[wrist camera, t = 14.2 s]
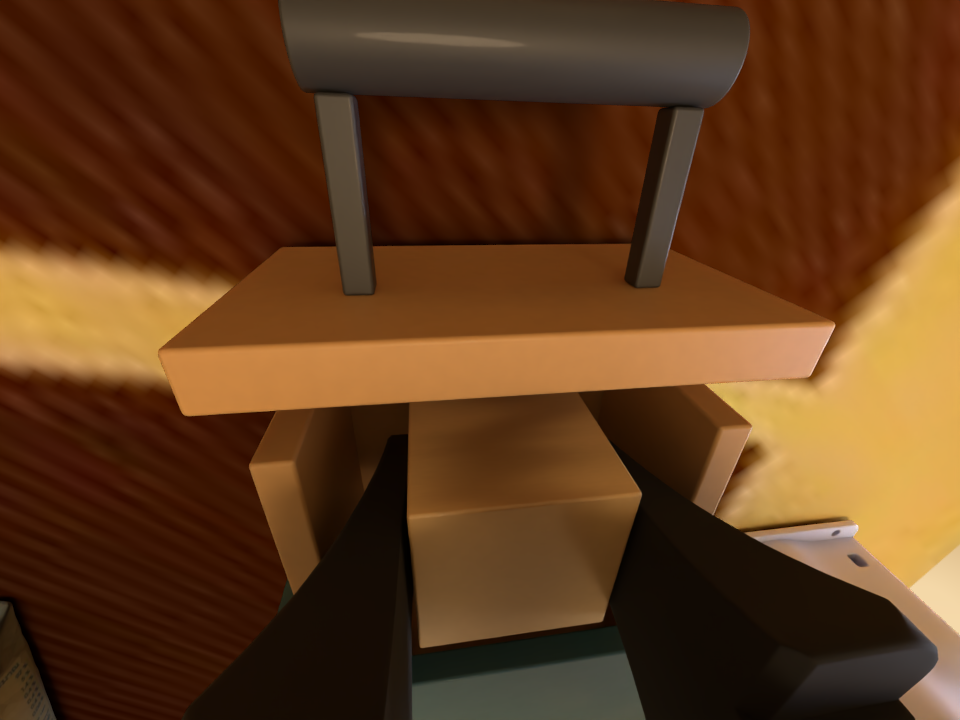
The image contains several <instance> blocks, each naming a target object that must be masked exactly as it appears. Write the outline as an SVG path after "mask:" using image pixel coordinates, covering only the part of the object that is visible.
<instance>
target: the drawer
mask: <svg viewBox="0 0 960 720" xmlns="http://www.w3.org/2000/svg"><path fill="white" fill-rule="evenodd" d="M278 4H279V13H280V21H281V27H282V32H283V37H284V42H285V46H286V50H287V54H288V58H289V61H290V65H291V68H292V71H293V73H294V76H295V78H296V81H297V83H298V85H299V86H300V88H301V89H302V90H303V91H304V92H306V93H315V94H314V102H315V109H316V116H317V122H318V129H319V135H320V142H321V149H322V155H323V162H324V169H325V175H326V182H327V189H328V195H329V202H330V209H331V215H332V222H333V229H334V235H335V242H336V247H282V248H280V249H279V250H278V251H276V252H275V253H274V254H273V255H272V256H270V257H269V258H268V259H267V260H266V261H264V262H263V263H262V264H261V265H260V266H258V267H257V268H256V269H255V270H254V271H252V272H251V273H250V274H249V275H248V276H246V277H245V278H244V279H243V280H242V281H240V282H239V283H238V284H237V285H236V286H234V287H233V288H232V289H231V290H230V291H228V292H227V293H226V294H225V295H224V296H222V297H221V298H220V299H219V300H218V301H216V302H215V303H214V304H213V305H212V306H211V307H209V308H208V309H207V310H206V311H205V312H203V313H202V314H201V315H200V316H199V317H197V318H196V319H195V320H194V321H193V322H191V323H190V324H189V325H188V326H187V327H185V328H184V329H183V330H182V331H181V332H179V333H178V334H177V335H176V336H175V337H173V338H172V339H171V340H170V341H169V342H167V343H166V344H165V345H164V346H163V347H161V348H160V349H159V351H158V357H159V359H160V362H161V364H162V366H163V369H164V371H165V374H166V376H167V378H168V381H169V383H170V385H171V388H172V390H173V393H174V395H175V397H176V400H177V402H178V404H179V407H180V409H181V412H182V413H183V414H184V415H186V416H197V415H213V414H229V413H246V412H262V411H276V412H275V414H274V416H273V418H272V420H271V422H270V424H269V426H268V428H267V430H266V432H265V434H264V436H263V438H262V440H261V442H260V444H259V446H258V448H257V450H256V452H255V454H254V456H253V458H252V460H251V462H250V465H249V469H250V472H251V475H252V477H253V480H254V483H255V486H256V489H257V492H258V495H259V498H260V500H261V503H262V506H263V509H264V512H265V515H266V518H267V521H268V523H269V526H270V529H271V532H272V535H273V538H274V541H275V543H276V546H277V549H278V552H279V555H280V558H281V561H282V564H283V566H284V569H285V572H286V575H287V578H288V581H289V584H290V587H291V589H292V592H293V595H294V594H295V593H296V592H297V590H298V589H299V588H300V587H301V585H302V584H303V583H304V582H305V580H306V579H307V578H308V576H309V575H310V574H311V572H312V571H313V570H314V569H315V567H316V566H317V565H318V563H319V562H320V561H321V559H322V558H323V557H324V555H325V554H326V552H327V551H328V550H329V548H330V547H331V545H332V544H333V542H334V541H335V540H336V538H337V537H338V535H339V534H340V532H341V530H342V529H343V527H344V526H345V524H346V523H347V521H348V519H349V518H350V516H351V514H352V513H353V511H354V509H355V508H356V506H357V504H358V503H359V501H360V499H361V497H362V496H363V494H364V492H365V490H366V488H367V486H368V484H369V482H370V480H371V478H372V476H373V474H374V472H375V470H376V468H377V466H378V464H379V461H380V459H381V457H382V454H383V452H384V449H385V446H386V443H387V440H388V438H389V437H390V436H391V435H400V434H408V425H409V402H423V401H439V400H455V399H471V398H487V397H503V396H519V395H535V394H551V393H567V392H578V393H579V395H580V397H581V398H582V400H583V401H584V403H585V404H586V406H587V408H588V409H589V411H590V412H591V414H592V415H593V417H594V419H595V420H596V422H597V423H598V425H599V426H600V428H601V430H602V431H603V433H604V434H605V436H606V437H607V438H608V439H609V440H610V441H612V442H613V443H614V444H615V445H616V446H618V447H619V448H620V449H621V450H622V451H624V452H625V453H626V454H627V455H629V456H630V457H631V458H632V459H634V460H635V461H636V462H637V463H639V464H640V465H641V466H642V467H644V468H645V469H646V470H648V471H649V472H650V473H652V474H653V475H654V476H656V477H657V478H658V479H660V480H661V481H662V482H664V483H665V484H667V485H668V486H669V487H671V488H672V489H674V490H675V491H676V492H678V493H679V494H681V495H682V496H684V497H685V498H687V499H688V500H690V501H691V502H693V503H694V504H696V505H698V506H699V507H701V508H702V509H704V510H705V511H707V512H709V513H710V514H712V515H713V514H714V512H715V510H716V508H717V505H718V503H719V501H720V499H721V496H722V494H723V492H724V490H725V488H726V485H727V483H728V481H729V479H730V476H731V474H732V472H733V470H734V468H735V465H736V463H737V461H738V459H739V456H740V454H741V452H742V450H743V448H744V445H745V443H746V441H747V439H748V436H749V434H750V432H751V430H752V425H751V424H750V423H749V422H748V421H747V420H745V419H744V418H743V417H742V416H741V415H740V414H738V413H737V412H736V411H735V410H734V409H733V408H731V407H730V406H729V405H728V404H727V403H726V402H724V401H723V400H722V399H721V398H720V397H719V396H717V395H716V394H715V393H714V392H713V391H712V390H710V389H709V388H708V387H707V386H706V385H705V384H712V383H728V382H744V381H760V380H776V379H793V378H807V377H809V376H810V375H811V373H812V371H813V369H814V367H815V365H816V363H817V361H818V359H819V357H820V355H821V353H822V351H823V349H824V347H825V345H826V343H827V341H828V339H829V337H830V335H831V333H832V331H833V329H834V327H835V323H834V322H833V321H831V320H828V319H826V318H824V317H822V316H819V315H817V314H815V313H813V312H810V311H808V310H806V309H803V308H801V307H799V306H797V305H794V304H792V303H790V302H788V301H785V300H783V299H781V298H779V297H776V296H774V295H772V294H770V293H767V292H765V291H763V290H761V289H758V288H756V287H754V286H752V285H749V284H747V283H745V282H743V281H740V280H738V279H736V278H734V277H731V276H729V275H727V274H724V273H722V272H720V271H718V270H715V269H713V268H711V267H709V266H706V265H704V264H702V263H700V262H697V261H695V260H693V259H691V258H688V257H686V256H684V255H682V254H679V253H677V252H675V251H673V250H670V245H671V241H672V237H673V233H674V229H675V225H676V221H677V217H678V213H679V209H680V205H681V201H682V197H683V194H684V190H685V186H686V182H687V178H688V174H689V170H690V166H691V162H692V158H693V154H694V150H695V146H696V142H697V138H698V134H699V130H700V126H701V122H702V118H703V114H704V109H703V108H708V107H710V106H713V105H714V104H716V103H717V102H718V101H720V100H721V99H722V98H723V97H724V96H725V95H726V93H727V92H728V91H729V89H730V88H731V87H732V85H733V83H734V82H735V80H736V78H737V76H738V75H739V72H740V70H741V68H742V65H743V63H744V60H745V57H746V54H747V49H748V45H749V38H750V25H749V20H748V17H747V15H746V13H745V12H744V11H743V10H742V9H741V8H739V7H731V6H719V5H706V4H693V3H680V2H668V1H655V0H278ZM351 94H353V95H378V96H403V97H428V98H453V99H478V100H503V101H528V102H553V103H578V104H603V105H628V106H653V107H667V108H662V109H660V110H659V112H658V115H657V120H656V125H655V130H654V135H653V140H652V145H651V149H650V154H649V159H648V164H647V169H646V174H645V179H644V184H643V188H642V193H641V198H640V203H639V208H638V213H637V218H636V223H635V228H634V232H633V237H632V242H631V244H549V245H448V246H373V244H372V234H371V225H370V216H369V206H368V197H367V187H366V178H365V169H364V159H363V150H362V140H361V131H360V121H359V112H358V103H357V99H356V97H354V96H353V95H351ZM609 626H616V622H615V619H614V616H613V613H612V610H611V607H610V604H609V602H608V605H607V609H606V612H605V615H604V618H603V621H602V622H597V623H591V624H584V625H577V626H570V627H563V628H556V629H549V630H543V631H536V632H529V633H522V634H515V635H508V636H501V637H495V638H488V639H481V640H474V641H467V642H460V643H453V644H447V645H440V646H433V647H426V648H420V646H419V639H418V629H417V618H416V608H415V598H414V589H413V602H412V655H418V654H425V653H432V652H438V651H445V650H452V649H459V648H466V647H472V646H479V645H486V644H493V643H500V642H507V641H513V640H520V639H527V638H534V637H541V636H547V635H554V634H561V633H568V632H575V631H581V630H588V629H595V628H602V627H609Z"/></svg>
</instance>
